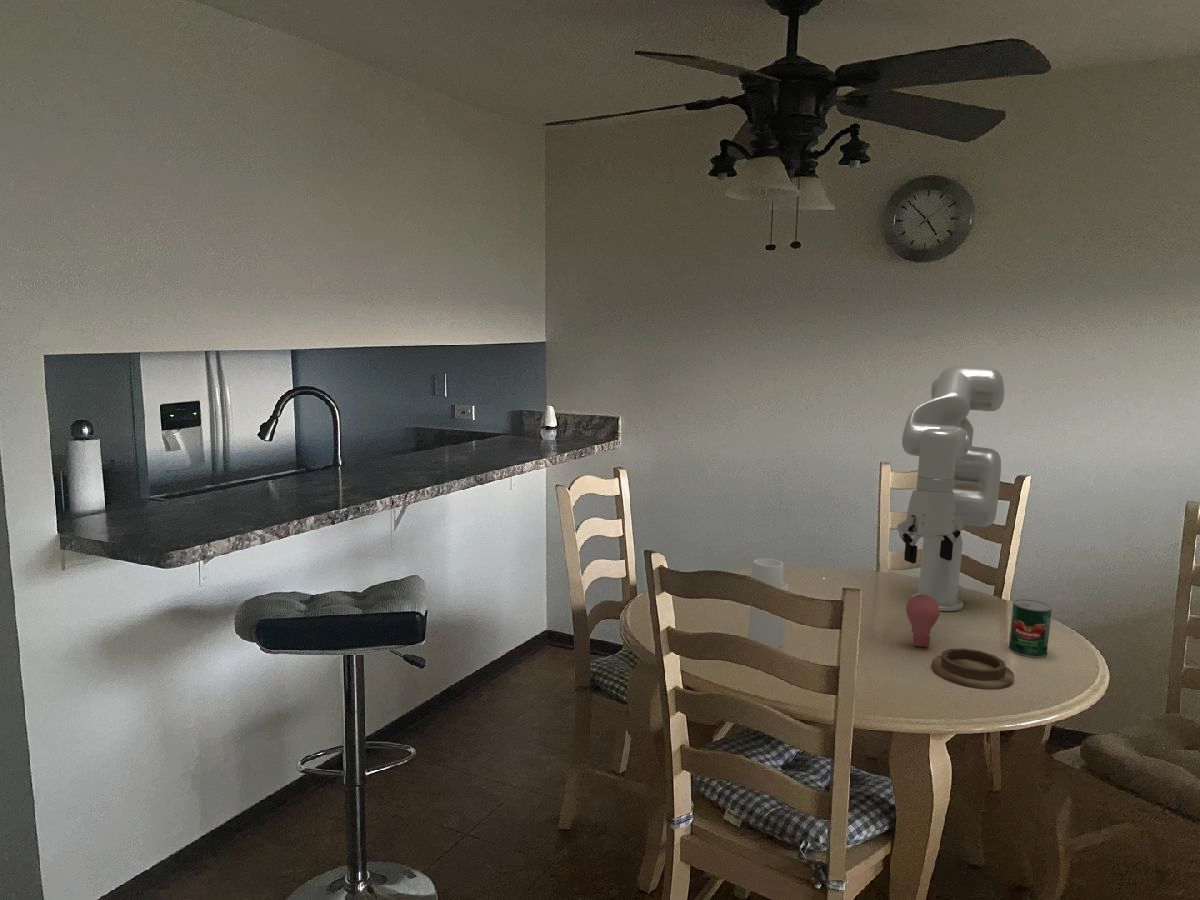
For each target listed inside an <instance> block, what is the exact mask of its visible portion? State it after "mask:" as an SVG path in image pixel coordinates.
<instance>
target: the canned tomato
mask: <svg viewBox="0 0 1200 900" xmlns="http://www.w3.org/2000/svg"><path fill="white" fill-rule="evenodd" d="M1011 609H1012V611H1011V612H1012V613H1011V620H1010V621H1011V622H1010V629H1009V641H1008V650H1009V651H1010V652H1012V653H1014V654H1016V655H1019V656H1023V657H1027V658H1034V659H1041V657H1042V658H1045V657H1047V656H1048V648H1049V637H1050V629H1051V628H1050V627H1051V620H1052V619H1051V618H1052V610H1053V607H1052V606H1051V605H1050V604H1048V603H1046V602H1043V601H1040V600H1035V599H1028V598H1018V599H1014V600H1013V601H1012V608H1011ZM1046 655H1047V656H1046Z"/></svg>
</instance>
